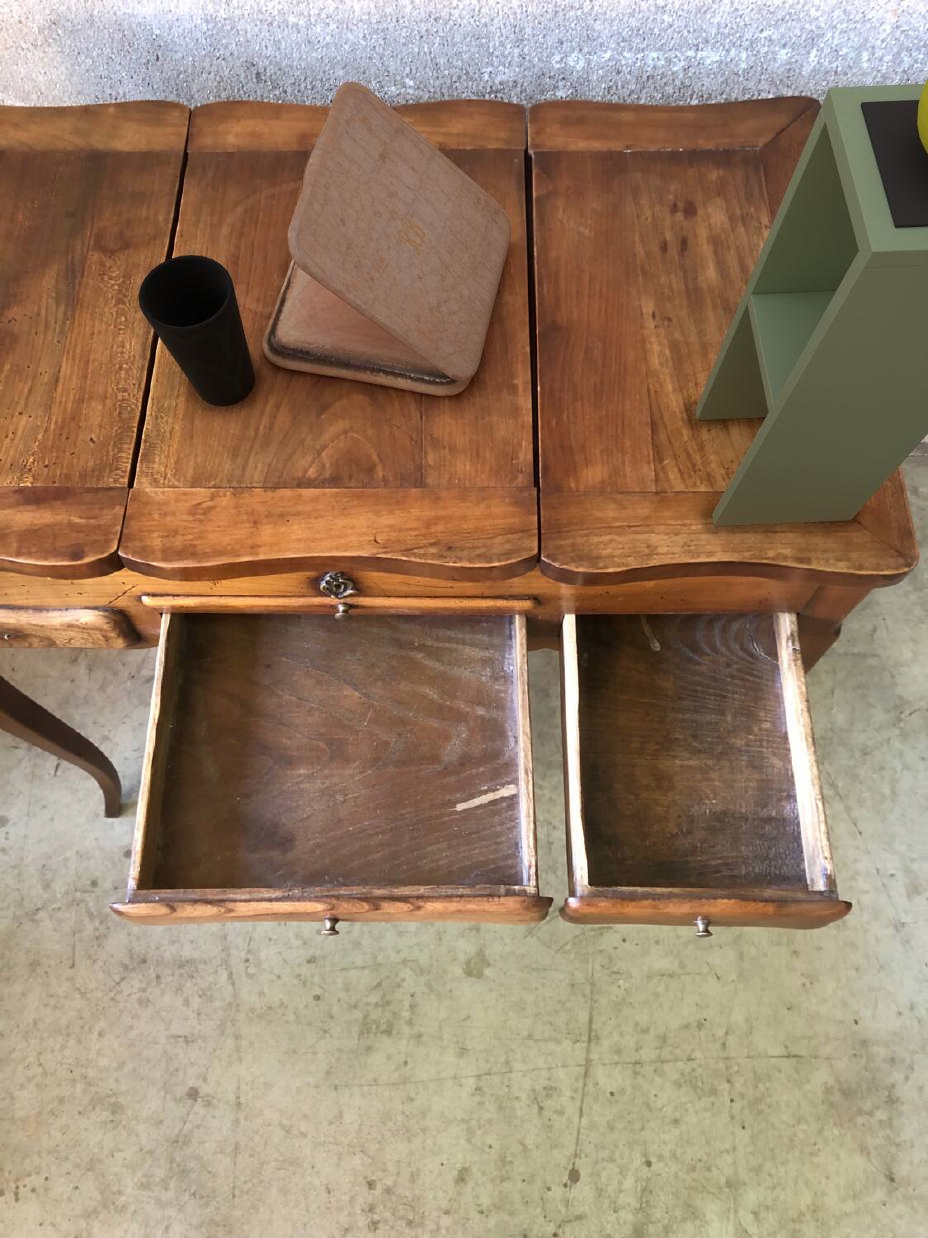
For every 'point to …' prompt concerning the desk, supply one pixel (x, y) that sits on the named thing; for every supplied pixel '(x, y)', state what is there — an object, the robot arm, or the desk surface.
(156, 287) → the cup
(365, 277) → the case
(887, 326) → the shelf
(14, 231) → the desk surface
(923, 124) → the ornament
